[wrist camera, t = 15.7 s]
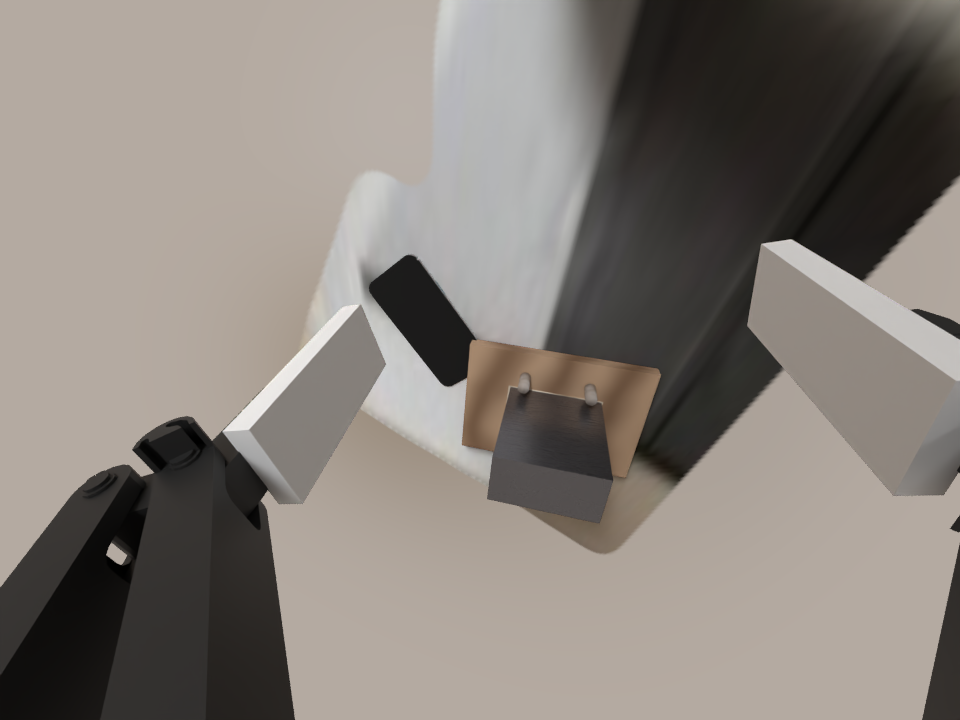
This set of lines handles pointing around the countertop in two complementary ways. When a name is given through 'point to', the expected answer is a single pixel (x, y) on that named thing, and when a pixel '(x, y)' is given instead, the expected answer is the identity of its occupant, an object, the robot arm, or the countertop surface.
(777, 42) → the countertop surface
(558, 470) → the block
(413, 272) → the smartphone
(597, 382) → the dock
